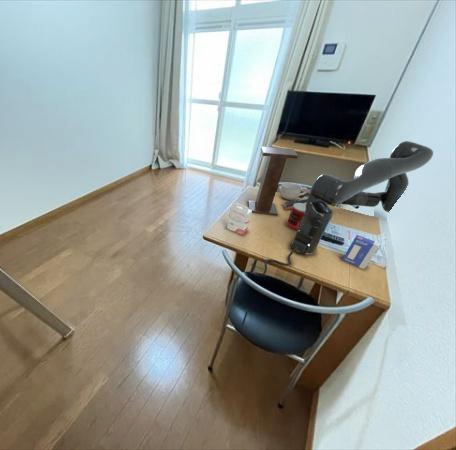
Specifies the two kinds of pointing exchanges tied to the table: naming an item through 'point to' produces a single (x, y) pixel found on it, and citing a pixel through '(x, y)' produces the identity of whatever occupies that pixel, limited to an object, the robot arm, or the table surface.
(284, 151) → the walnut stand
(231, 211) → the ink cartridge box
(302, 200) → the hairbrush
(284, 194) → the teacup
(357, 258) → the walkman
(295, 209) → the canned food
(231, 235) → the table surface
